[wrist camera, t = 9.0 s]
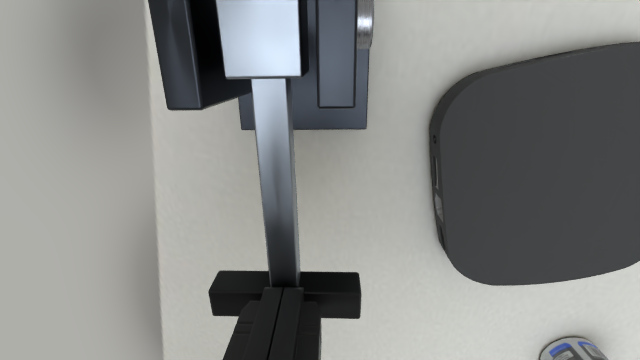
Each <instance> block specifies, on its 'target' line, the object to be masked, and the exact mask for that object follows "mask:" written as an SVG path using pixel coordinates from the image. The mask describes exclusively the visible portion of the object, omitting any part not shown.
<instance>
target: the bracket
mask: <svg viewBox="0 0 640 360" xmlns="http://www.w3.org/2000/svg"><path fill="white" fill-rule="evenodd" d="M148 3H149V8H150V14H151V19H152V25H153V31H154V36H155V42H156V47H157V53H158V59H159V64H160V70H161V76H162V81H163V87H164V92H165V98H166V104H167V108H168V109H169V110H203V109H206V108H209V107H212V106H215V105H218V104H220V103H223V102H226V101H229V100H232V99H235V98H238V100H239V110H240V120H241V129H242V130H255V124H254V114H253V104H252V93H251V83H250V79H226V78H225V77H224V73H223V65H222V58H221V50H220V42H219V34H218V26H217V19H216V11H215V3H214V0H148ZM307 11H308V47H309V71H308V72H307V73H306V74H305V75H304V76H303V77H302V78H291V93H292V114H293V130H319V129H366V127H367V99H368V72H369V48H370V47H371V43H372V37H373V25H374V0H307Z"/></svg>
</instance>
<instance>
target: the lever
mask: <svg viewBox="0 0 640 360" xmlns="http://www.w3.org/2000/svg"><path fill="white" fill-rule="evenodd" d="M214 3H215V11H216V19H217V26H218V34H219V42H220V50H221V58H222V65H223V73H224V77H225V78H226V79H250V83H251V93H252V104H253V114H254V124H255V134H256V145H257V155H258V165H259V175H260V185H261V196H262V206H263V216H264V226H265V237H266V247H267V257H268V267H269V271H219V272H218V274H217V276H216V277H215V279H214V281H213V283H212V285H211V287H210V289H209V298H210V303H211V308H212V313H213V315H214V316H239V315H240V313H241V310H242V309H243V308H244V307H245V306H246V305H247V304H248V303H249V302H250V301H260V300H261V297H262V294H263V291H264V288H265V287H284V288H285V287H303V288H304V302H316V303H317V305H318V307H319V309H320V311H321V318H346V319H359V318H360V313H361V287H360V278H359V273H357V272H300V254H299V234H298V214H297V194H296V174H295V154H294V134H293V114H292V93H291V78H302V77H303V76H304V75H305V74H306V73H307V72H308V71H309V47H308V11H307V0H214Z"/></svg>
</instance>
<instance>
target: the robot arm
mask: <svg viewBox="0 0 640 360" xmlns="http://www.w3.org/2000/svg"><path fill="white" fill-rule="evenodd" d="M223 360H321V311H320V309H319V307H318V305H317V303H316V302H304V288H303V287H285V288H284V287H265V288H264V291H263V294H262V297H261V300H260V301H250V302H249V303H248V304H247V305H246V306H245V307H244V308H243V309H242V310H241V313H240V315H239V318H238V321H237V324H236V326H235V329H234V331H233V334H232V337H231V339H230V342H229V344H228V347H227V350H226V352H225V355H224V358H223Z"/></svg>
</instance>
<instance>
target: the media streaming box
mask: <svg viewBox="0 0 640 360" xmlns="http://www.w3.org/2000/svg"><path fill="white" fill-rule="evenodd" d="M430 150H431V171H432V184H433V196H434V205H435V214H436V221H437V228H438V235H439V241H440V244H441V246H442V248H443V249H444V251H445V253H446V254H447V256H448V258H449V259H450V261H451V263H452V264H453V266H454V267H455V268H456V269H457V270H458V271H459V272H460V273H461V274H463V275H464V276H466V277H467V278H469V279H471V280H473V281H476V282H479V283H483V284H487V285H503V286H504V285H531V284H544V283H554V282H561V281H568V280H575V279H581V278H586V277H591V276H596V275H601V274H605V273H609V272H613V271H616V270H620V269H623V268H626V267H629V266H631V265H633V264H635V263H637V262H638V261H640V42H629V43H620V44H613V45H606V46H599V47H593V48H587V49H581V50H575V51H570V52H565V53H559V54H554V55H549V56H544V57H539V58H535V59H530V60H526V61H521V62H517V63H513V64H508V65H504V66H500V67H496V68H492V69H488V70H485V71H481V72H477V73H474V74H472V75H470V76H468V77H466V78H464V79H462V80H461V81H460V82H458V83H457V84H456V85H454V86H453V87H452V88H451V89H450V90H449V91H448V92H447V93H446V95H445V96H444V97H443V98H442V100H441V101H440V103H439V104H438V106H437V108H436V110H435V112H434V115H433V118H432V121H431V126H430Z"/></svg>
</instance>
